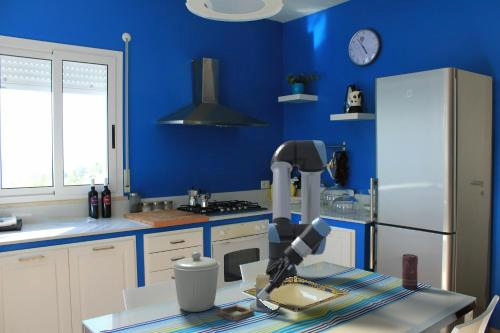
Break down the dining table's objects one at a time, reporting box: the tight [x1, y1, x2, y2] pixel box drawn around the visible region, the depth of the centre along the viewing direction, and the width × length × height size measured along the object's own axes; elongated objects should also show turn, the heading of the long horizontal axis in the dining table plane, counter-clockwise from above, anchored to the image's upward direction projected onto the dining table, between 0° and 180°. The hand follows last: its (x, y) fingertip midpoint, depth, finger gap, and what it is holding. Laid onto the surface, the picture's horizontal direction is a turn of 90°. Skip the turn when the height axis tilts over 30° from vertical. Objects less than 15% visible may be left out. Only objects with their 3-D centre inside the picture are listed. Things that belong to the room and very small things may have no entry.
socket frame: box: [216, 304, 255, 322], centre depth 157 cm, size 9×9×2 cm
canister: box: [171, 251, 221, 313], centre depth 165 cm, size 18×18×21 cm
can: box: [401, 253, 419, 291], centre depth 188 cm, size 6×6×14 cm
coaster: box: [249, 301, 275, 313], centre depth 165 cm, size 11×11×1 cm
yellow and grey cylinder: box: [255, 274, 271, 308], centre depth 165 cm, size 5×5×11 cm
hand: (258, 292), depth 165 cm, fingers open, 13 cm apart
